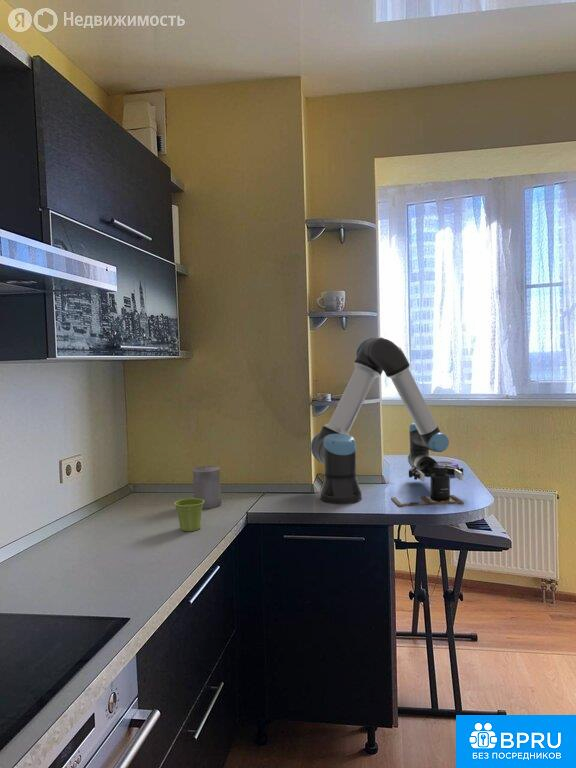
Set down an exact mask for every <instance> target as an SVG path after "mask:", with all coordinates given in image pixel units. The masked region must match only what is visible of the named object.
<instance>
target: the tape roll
mask: <svg viewBox="0 0 576 768" xmlns="http://www.w3.org/2000/svg"><path fill="white" fill-rule="evenodd" d="M435 461H436V462H437V464H438V465H443V466H444V465H445V464H447V465H449V466H454V467H459V462H457V461H451V460H435ZM449 476H452V477H455V476H454V475H449Z"/></svg>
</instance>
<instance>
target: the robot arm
mask: <svg viewBox="0 0 576 768" xmlns="http://www.w3.org/2000/svg"><path fill="white" fill-rule="evenodd" d="M355 356H356V358H355V360H354V361H353V365H354V366H353V367H354V371H353V373H352V375H351V377H350V379H349V381H348V383H347V385H346V387H345V389H344V391H343V393H342V395H341V397H340V399H339V402H338V403H337V405H336V408H335V410H334V411H333V414H332V415H331V418H330V420H329V422H328V423H325V424H323V425H322V427H321V429H320V431H319V433H317V434H316V435H314V437H313V438H312V440H311V442H310V452H311V454H312V456H313V457H314V458H315V460H316V461H318V462H319V463H321V464H324V480H323V483H322V486H321V490H320V500H321V501H322V502H325V503H328V504H335V505H338V504H342V505H343V504H353V503H358V502H360V501H361V500H362V499H363V498H362V497H363V496H362V490H361V487H360V485H359V482H358V479H357V453H356V452H357V444H356V439H355V437H353V436H352V435H350V430H351V428H352V426H353V424H354V422H355V420H356V418H357V416H358V414H359V412H360V410H361V408H362V406H363V404H364V402H365V399H366V398H367V396H368V393H369V392H370V389H371V387H372V385H373V383H374V382H375V379H376V378H377V379H378V378H379V377H381V376H382V373H384V374H385V376H386V377H387V378H390V379H391V381H392V383H393V385H394V388H395V389H396V392H397V393H398V395H399V397H400V400H402V403H403V404H404V405H403V406H405V409H406V410H407V412H408V415H409V416H410V418H411V421H412V422H411V423H410V424H409V432H408V434H409V454H408V456H407V462H408V465H410V467H411V468H410V469H409V470H408V478H413V479H414V480H418V479H419V481H421V483H422V482H423V483H425V481H426V480H425V479H426V478H430V476H431V474H433V473H434V472H433V466H443V465H438V464H437V462H436V461H437V460H435V459H434V458H432V457H431V456H430V452H429V451H431V452H434V453H435V452H436V453H443V452H445V451H446V450H447V449H448V447H449V446H450V445H449V444H450V440H449V438H448V436H447V435H446V433H445V434H444V433H443V432H442V431H441V430H440V428H439V426H438V425H437V422H436V421H435V418H434V416H433V414H432V412H431V410H430V408H429V406H428V404H427V403H426V401H425V399H424V397H423V395H422V392H421V390H420V389H419V387H418V386H419V385H417V383H416V380H415V379H414V377H413V375H412V372H411V371H410V367H411V364H410V362H409V360H408V358H407V357H406V355H405V353H404V351H403V350H402V348H401V346H400V345H399V344H398V343H397V342H396V341H395V340H394V339H392V338H390V337H386V336H381V337H369V338H367V339H365V340H363V341H361V342H360V343H359V345H358V346H357V348H356V352H355ZM444 466H446V467H447V472H446V473H447V474H448V475H454V476H453V477H455V478H456V479H457V480H459V481H463V476H464V468H462V467H459V466H458V467H454V466H449V465H447V464H445V465H444ZM425 477H426V478H425Z"/></svg>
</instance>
